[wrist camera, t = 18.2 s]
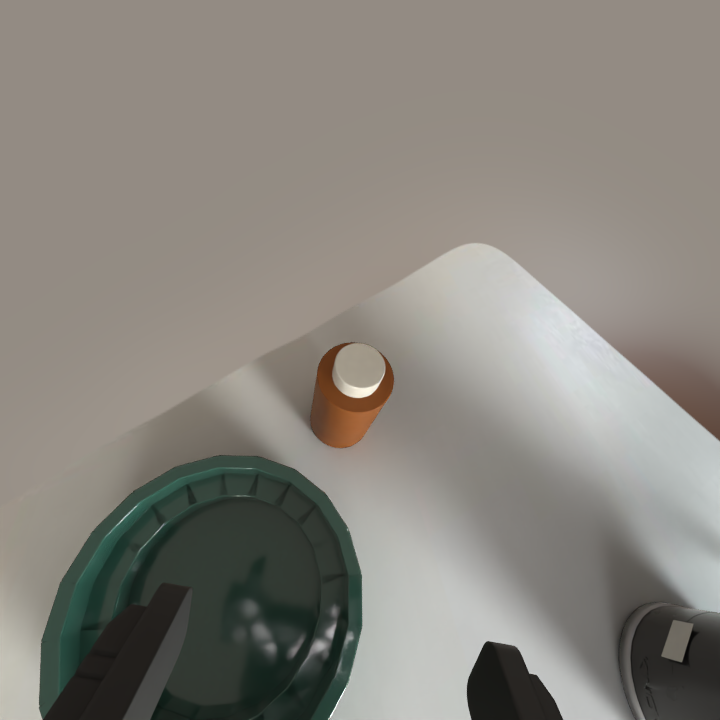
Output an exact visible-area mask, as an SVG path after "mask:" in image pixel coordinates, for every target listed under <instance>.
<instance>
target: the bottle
mask: <svg viewBox="0 0 720 720" xmlns="http://www.w3.org/2000/svg"><path fill="white" fill-rule="evenodd" d="M393 385H394V376H393V371H392V368H391V366H390V364H389V362H388V361H387V359H386V358H385V357H384V356H383V355H382V354H381V353H380V352H379V351H378V350H376V349H375V348H373V347H372V346H370V345H367V344H363V343H354V342H351V343H344V344H340V345H337V346H335V347H333V348H332V349H330V350H329V351H328V352H327V353H326V354H325V355H324V356H323V358H322V359H321V361H320V363H319V366H318V371H317V377H316V384H315V390H314V397H313V403H312V410H311V417H310V422H311V427H312V430H313V432H314V434H315V435H316V436H317V438H318V439H319V440H320V441H322V442H323V443H324V444H326V445H328V446H331V447H335V448H345V447H349V446H352V445H354V444H356V443H357V442H358V441H360V440H361V438H362V437H363V436H364V434H365V433H366V431H367V430H368V428H369V427H370V425H371V424H372V422H373V421H374V419H375V418H376V416H377V415H378V413H379V412H380V410H381V409H382V407H383V406H384V404H385V403H386V401H387V400H388V398H389V397H390V395H391V392H392V390H393Z"/></svg>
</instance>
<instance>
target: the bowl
mask: <svg viewBox="0 0 720 720" xmlns="http://www.w3.org/2000/svg"><path fill="white" fill-rule="evenodd" d="M164 582H165V583H170V584H176V585H181V586H187V587H192V588H193V592H192V599H191V606H190V613H189V620H188V627H187V632H186V636H185V639H184V643H183V646H182V648H181V651H180V654H179V656H178V659H177V661H176V663H175V665H174V668H173V670H172V672H171V674H170V676H169V679H168V681H167V683H166V685H165V688H164V690H163V692H162V694H161V697H160V699H159V701H158V703H157V705H156V708H155V710H154V712H153V714H152V717H151V719H150V720H329V719H330V717H331V715H332V714H333V712H334V710H335V708H336V706H337V704H338V702H339V700H340V698H341V697H342V695H343V693H344V691H345V689H346V687H347V685H348V683H349V679H350V675H351V671H352V666H353V662H354V658H355V654H356V650H357V646H358V642H359V638H360V634H361V630H362V575H361V570H360V567H359V563H358V560H357V556H356V553H355V549H354V546H353V542H352V539H351V535H350V532H349V530H348V527H347V526H346V524H345V523H344V521H343V519H342V518H341V516H340V515H339V513H338V512H337V510H336V509H335V507H334V506H333V504H332V502H331V501H330V499H329V498H328V496H327V495H326V494H325V493H324V492H323V491H322V490H320V489H319V488H318V487H317V486H315V485H314V484H313V483H312V482H310V481H309V480H308V479H307V478H306V477H304V476H303V475H302V474H301V473H299V472H298V471H297V470H295V469H293V468H290V467H287V466H285V465H282V464H279V463H276V462H273V461H271V460H268V459H265V458H262V457H259V456H231V455H219V456H213V457H210V458H206V459H202V460H199V461H195V462H191V463H188V464H184V465H180V466H177V467H174V468H173V469H171V470H169V471H167V472H166V473H164V474H162V475H161V476H159V477H157V478H155V479H154V480H152V481H150V482H149V483H147V484H145V485H143V486H142V487H140V488H138V489H137V490H135V491H133V493H131V494H130V495H129V496H128V497H127V498H126V499H125V500H124V501H123V502H122V503H121V504H120V505H119V506H118V507H117V508H116V509H115V510H114V511H113V512H112V513H111V514H110V515H108V516H107V517H106V518H105V519H104V520H103V521H102V522H101V523H100V524H99V525H98V526H97V527H96V528H95V529H94V531H93V532H92V533H91V535H90V536H89V538H88V539H87V541H86V543H85V544H84V546H83V547H82V549H81V550H80V552H79V554H78V555H77V557H76V558H75V560H74V562H73V563H72V565H71V566H70V568H69V570H68V571H67V573H66V574H65V576H64V577H63V579H62V582H61V583H60V585H59V588H58V592H57V595H56V598H55V601H54V604H53V607H52V610H51V613H50V616H49V619H48V622H47V625H46V628H45V631H44V635H43V638H42V641H41V642H42V643H41V664H40V692H39V706H40V707H39V709H40V713H41V716H42V719H44V717H45V716H46V714H47V713H48V711H49V710H50V708H51V707H52V705H53V704H54V702H55V701H56V700H57V698H58V697H59V695H60V694H61V692H62V691H63V689H64V688H65V686H66V685H67V683H68V682H69V680H70V679H71V677H73V676H74V675H75V673H76V670H77V669H78V667H79V666H80V664H81V663H82V661H83V660H84V658H85V657H86V655H87V654H89V653H90V650H91V648H92V647H93V645H94V644H95V642H96V641H97V639H98V638H99V636H100V635H101V633H102V632H103V630H104V629H105V627H106V626H107V625H108V623H109V622H111V621H112V620H113V619H114V618H115V617H116V616H118V615H119V614H120V613H121V612H122V611H123V610H125V609H126V608H127V607H128V606H129V605H130V604H135V605H141V606H146V607H147V606H148V604H149V602H150V601H151V599H152V597H153V596H154V594H155V592H156V591H157V589H158V588H159V586H160V585H161V584H162V583H164Z"/></svg>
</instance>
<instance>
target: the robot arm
mask: <svg viewBox="0 0 720 720" xmlns="http://www.w3.org/2000/svg"><path fill="white" fill-rule="evenodd" d="M192 592H193V588H192V587H187V586H181V585H176V584H170V583H165V582H164V583H162V584H161V585H160V586H159V588H158V589H157V591H156V592H155V594H154V596H153V597H152V599H151V601H150V602H149V604H148V606H147V607H146V606H141V605H135V604H130V605H129V606H128V607H127V608H126V609H125V610H123V611H122V612H121V613H120V614H119V615H118V616H116V617H115V618H114V619H113V620H112V621H111V622H109V623H108V625H107V626H106V627H105V629H104V630H103V632H102V633H101V635H100V636H99V638H98V639H97V641H96V642H95V644H94V645H93V647H92V648H91V650H90V653H89V654H87V655H86V657H85V658H84V660H83V661H82V663H81V664H80V666H79V667H78V669H77V670H76V673H75V675H74V676H73V677H71V679H70V680H69V682H68V683H67V685H66V686H65V688H64V689H63V691H62V692H61V694H60V695H59V697H58V698H57V700H56V701H55V702H54V704H53V705H52V707H51V708H50V710H49V711H48V713H47V714H46V716H45V717H44V719H43V720H150V719H151V717H152V714H153V712H154V710H155V708H156V705H157V703H158V701H159V699H160V697H161V694H162V692H163V690H164V688H165V685H166V683H167V681H168V679H169V676H170V674H171V672H172V670H173V668H174V665H175V663H176V661H177V659H178V656H179V654H180V651H181V648H182V646H183V643H184V639H185V636H186V632H187V627H188V620H189V613H190V606H191V599H192ZM619 663H620V672H621V678H622V683H623V687H624V691H625V694H626V698H627V700H628V703H629V706H630V708H631V711H632V713H633V715H634V717H635V719H636V720H720V613H717V612H710V611H704V610H697V609H691V608H685V607H683V606H679V605H675V604H668V603H661V602H655V603H649V604H645V605H643V606H641V607H639V608H638V609H637V610H635V611H634V612H633V613H632V615H631V616H630V617H629V619H628V620H627V622H626V624H625V626H624V629H623V632H622V636H621V640H620V649H619ZM467 700H468V707H469V711H470V715H471V720H563V718H562V716H561V714H560V712H559V709H558V707H557V705H556V703H555V700H554V699H553V697H552V696H551V695H550V693H549V692H548V690H547V689H546V688H545V686H544V685H543V683H542V682H541V681H540V679H539V678H538V676H537V675H533V674H529V672H528V670H527V667H526V665H525V662H524V660H523V657H522V655H521V653H520V651H519V650H518V649H517V648H516V647H515V646H512V645H506V644H501V643H495V642H490V641H487V642H486V643H485V644H484V646H483V648H482V650H481V652H480V654H479V657H478V659H477V661H476V663H475V665H474V667H473V669H472V672H471V674H470V676H469V679H468V684H467Z"/></svg>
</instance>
